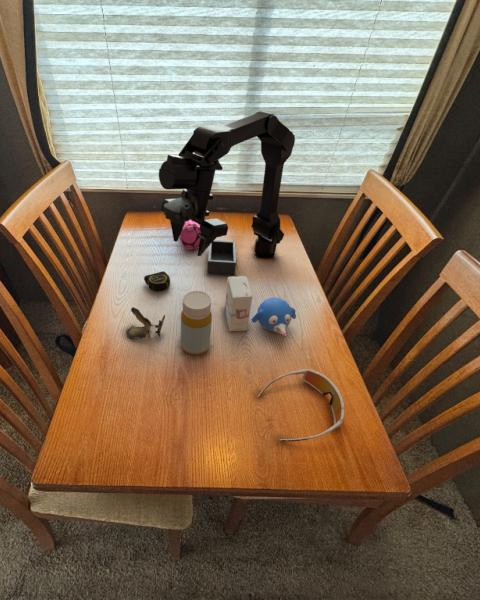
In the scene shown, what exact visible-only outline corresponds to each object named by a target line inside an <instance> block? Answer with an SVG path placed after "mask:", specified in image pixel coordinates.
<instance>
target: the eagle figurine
mask: <svg viewBox="0 0 480 600" xmlns="http://www.w3.org/2000/svg"><path fill="white" fill-rule="evenodd" d="M130 311H131V312H132V314H133V315H134V316H135V317H136V320H137V321H139V322H140V323H141V324H142V325H143V326H134V325H132V326H130V327H129V328H127V329H126V332H125V333H126V336H127V338H129V339H145V338H146V336H147V335H148V334H149V336H150V338H153V337H154V336H155V335H157V337H159V338H161V331H162V328H163V325H164V321H165V319H166V314H163V316H162V318H161V319H159V321H158V324H152V322H151V320H150V319H148V318H147V317H145V316H144V315H143V313H142V312H141V311H140V309H138V308H136V307H133V306H132V307H131V308H130Z"/></svg>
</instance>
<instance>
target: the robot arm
mask: <svg viewBox="0 0 480 600" xmlns="http://www.w3.org/2000/svg"><path fill="white" fill-rule="evenodd" d="M256 137H257V138H258V140H259V141H260V153H261V156H262V158H263V161H264V163H265V164H264V173H263V180H262V181H263V183H262V191H261V199H260V207H259V211H258V212H257V213H256V214H255V215H253V216H252V219H251V220H252V222H251V226H250V227H251V228H252V231H253V235H254V236H257V238H255V241H254V246H253V252H254V254H255V258H259V259H260V258H261V259H276V251H277V250H276V249H277V245H278V244H279V245H280V244H281V241H283V239H284V236H285V233H284V232H283V230H282V229H281V218H280V216H279V213H278V205H279V197H280V191H281V184H282V178H283V173H284V165H285V163H286V162H287V161H288V160H289V158H290V157H291V156H292V154H293V149H294V146H295V143H296V136H295V134H294V133H293V131H291V130H290V129H289V128H288V127H287V126H286V125H285V124H284V123H282V122H281V121H280V120H279V118H278V116H276V115H275V114H274V113H272V112H267V111H263V110H259V111H256V112H255V113H254V114H252V115H248V116H246V117H244V118H240V119H237V120H235V121H233V122H229V123H227V124H224V125H201V126H198V127H196V128H195V129H194V130H193V133H192V135H191V136H190V138H189V139H188V141H187V142H185V144H184V146H183V147H182V149H181V150H180V151H179V153H178V155H175V154H168V155H167V157H166V160H165V161H163V162H162V163H161V165H160V168H159V169H158V180H159V183H160V185H161V187H162V188H163V189H164V190H167V191H168V190H182V191H181V193H180V197H178V198H165V199H164V200H163V201H162V202H161V206H160V211H162V212H163V215H164V217H165V219H166V220H169V222H170V228H171V232H172V238H173V239H172V240H173V242H179V240H180V234H181V231H182V228H183V225H184V222H185V221H186V222H187V221H189V220H192V221H194V222H196V223H198V224H200V231H201V232H200V233H198V234H199V236H200V242H199V247H198V248H197V257H201V256H202V255H203V254H205V252H206V251H207V249H209V245H210V244H211V243H212V242H213V241H214V240H217V238H221V237H225V236H227V235H228V232H229V225H228V224H227V222H225V221H223V220H220V219H219V218H217V217H216V218H210V219H208V218H206V217H209V216H210V213H211V212H210V211H209V210H208V207H209V201H210V200H211V201H212V200H214V195H213V194H212V193H211V192H212V188H213V183H214V178H215V175H216V171H223V169H224V167H223V165H222V163H220V159H222V158H224V157H225V156H226V155H228V154H229V153H230V151H231V149H232V148H233V147H234V146H236V145H239V144H241V143H243V142H246V141H248V140H251V139H253V138H256Z"/></svg>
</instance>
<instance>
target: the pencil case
mask: <svg viewBox="0 0 480 600" xmlns="http://www.w3.org/2000/svg"><path fill="white" fill-rule="evenodd" d="M200 232H201V231H200V224H198V223H196V222H194V221H192V220H189V221H187V222H186V221H185V222H184V225H183V228H182V231H181V234H180V237H179V240H180V243H181V245H182V246H183V248H185V249H187V250H195V249H198V247H199V242H200V236H199V234H198V233H200Z"/></svg>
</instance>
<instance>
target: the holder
mask: <svg viewBox="0 0 480 600" xmlns="http://www.w3.org/2000/svg"><path fill="white" fill-rule="evenodd" d="M236 247H237V246H236V241H235V240H233V241H232V240H219V239H215V240H214V241H213V242H212V243H211V244H210V245H209V247H208V257H207V272H206V275H214V276H215V275H216V276H228V277H232V276H236V268H237V248H236Z"/></svg>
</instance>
